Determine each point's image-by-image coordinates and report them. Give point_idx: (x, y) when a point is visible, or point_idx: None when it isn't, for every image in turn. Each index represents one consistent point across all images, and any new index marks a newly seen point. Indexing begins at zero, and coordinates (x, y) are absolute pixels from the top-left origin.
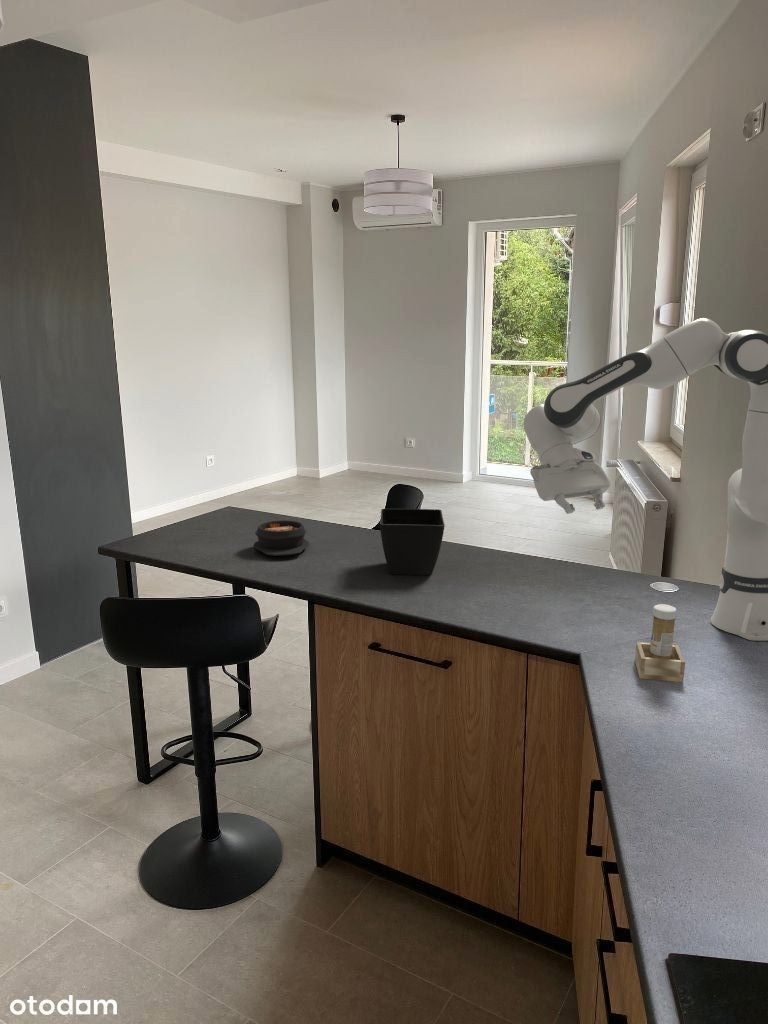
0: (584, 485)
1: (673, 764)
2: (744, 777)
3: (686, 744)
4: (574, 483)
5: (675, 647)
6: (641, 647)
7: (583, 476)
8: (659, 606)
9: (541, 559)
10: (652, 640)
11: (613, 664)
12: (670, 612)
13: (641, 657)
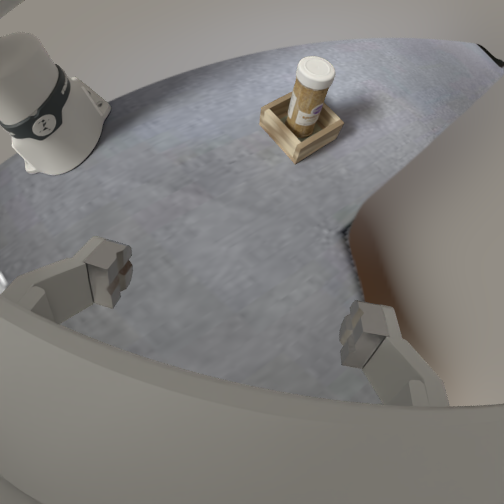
0: (121, 390)
1: (427, 76)
2: (396, 43)
3: (400, 73)
4: (255, 472)
5: (271, 107)
6: (312, 136)
7: (14, 472)
8: (321, 73)
9: None
10: (320, 110)
11: (329, 179)
12: (324, 59)
13: (342, 123)
